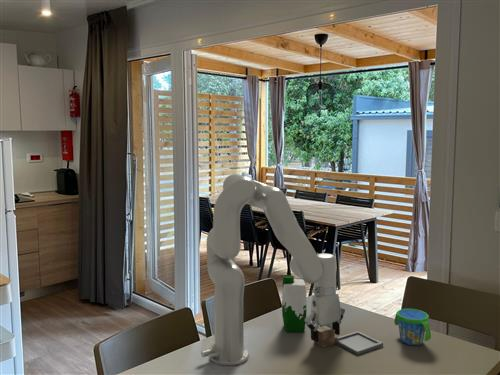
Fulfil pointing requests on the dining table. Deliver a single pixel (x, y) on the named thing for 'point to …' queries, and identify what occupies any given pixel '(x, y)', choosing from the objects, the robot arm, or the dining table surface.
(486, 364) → the dining table surface
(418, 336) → the snack cup
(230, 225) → the robot arm
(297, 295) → the soya milk
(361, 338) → the tray
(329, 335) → the oak cube
